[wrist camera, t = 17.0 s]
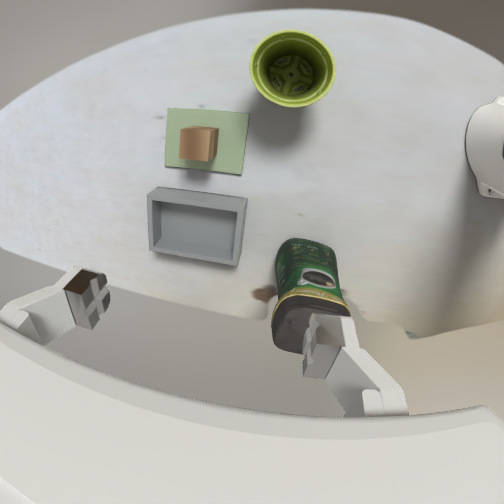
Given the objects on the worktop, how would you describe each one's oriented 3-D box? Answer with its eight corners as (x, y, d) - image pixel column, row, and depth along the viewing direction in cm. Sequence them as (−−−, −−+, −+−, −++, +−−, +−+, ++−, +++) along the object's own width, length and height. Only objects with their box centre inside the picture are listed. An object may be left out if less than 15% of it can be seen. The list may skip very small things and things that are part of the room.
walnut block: (219, 128, 37) (210, 131, 33) (216, 154, 39) (207, 161, 35) (192, 125, 38) (180, 129, 33) (190, 152, 40) (178, 158, 35)
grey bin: (247, 198, 43) (244, 207, 39) (240, 253, 47) (237, 266, 44) (157, 186, 43) (147, 194, 40) (158, 239, 48) (149, 250, 45)
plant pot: (338, 89, 33) (351, 85, 26) (279, 118, 36) (277, 121, 29) (303, 35, 30) (307, 17, 22) (244, 64, 33) (233, 54, 25)
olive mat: (249, 113, 36) (249, 113, 36) (241, 173, 41) (241, 174, 41) (169, 108, 37) (167, 108, 37) (165, 165, 41) (164, 165, 41)
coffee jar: (271, 272, 49) (261, 356, 33) (283, 231, 45) (280, 308, 29) (324, 285, 49) (336, 369, 33) (341, 246, 45) (364, 326, 29)
